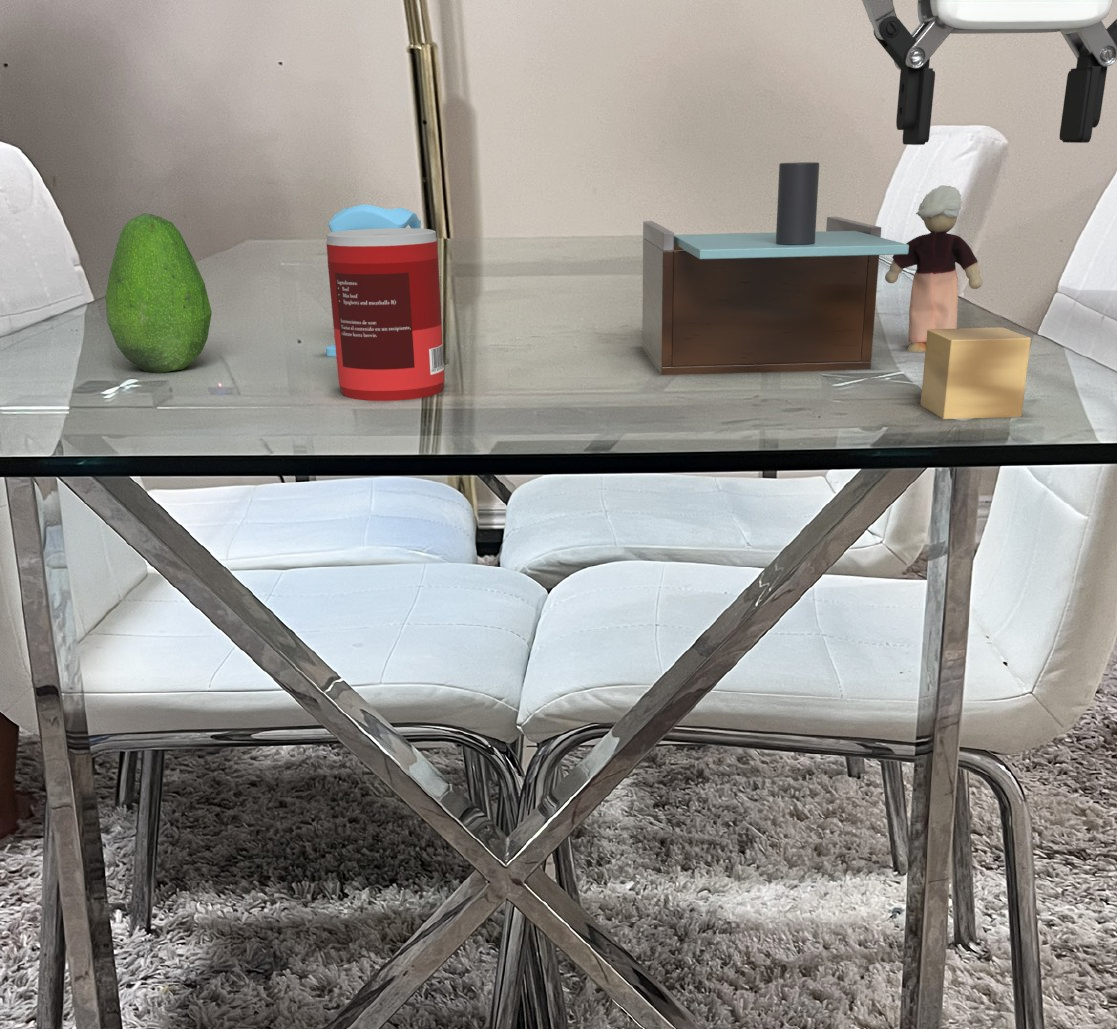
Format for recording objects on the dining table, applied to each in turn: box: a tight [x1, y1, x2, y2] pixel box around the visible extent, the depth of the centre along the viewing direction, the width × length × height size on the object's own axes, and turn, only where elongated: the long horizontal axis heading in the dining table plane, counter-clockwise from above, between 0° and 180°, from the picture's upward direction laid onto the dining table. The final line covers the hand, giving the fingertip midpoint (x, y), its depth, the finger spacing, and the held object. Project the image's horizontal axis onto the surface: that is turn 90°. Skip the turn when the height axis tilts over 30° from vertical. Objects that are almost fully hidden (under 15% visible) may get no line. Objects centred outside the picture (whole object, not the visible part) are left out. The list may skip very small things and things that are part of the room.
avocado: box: [104, 212, 213, 374], centre depth 105 cm, size 8×8×12 cm
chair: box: [325, 203, 422, 357], centre depth 113 cm, size 8×8×12 cm
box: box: [641, 216, 882, 376], centre depth 106 cm, size 16×14×10 cm
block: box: [920, 326, 1032, 420], centre depth 85 cm, size 5×5×5 cm
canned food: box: [325, 227, 445, 402], centre depth 94 cm, size 8×8×11 cm
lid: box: [674, 161, 909, 259], centre depth 93 cm, size 14×14×6 cm
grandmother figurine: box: [884, 184, 983, 353], centre depth 107 cm, size 8×4×13 cm, turn 72°
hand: (994, 143), depth 80 cm, fingers open, 9 cm apart
